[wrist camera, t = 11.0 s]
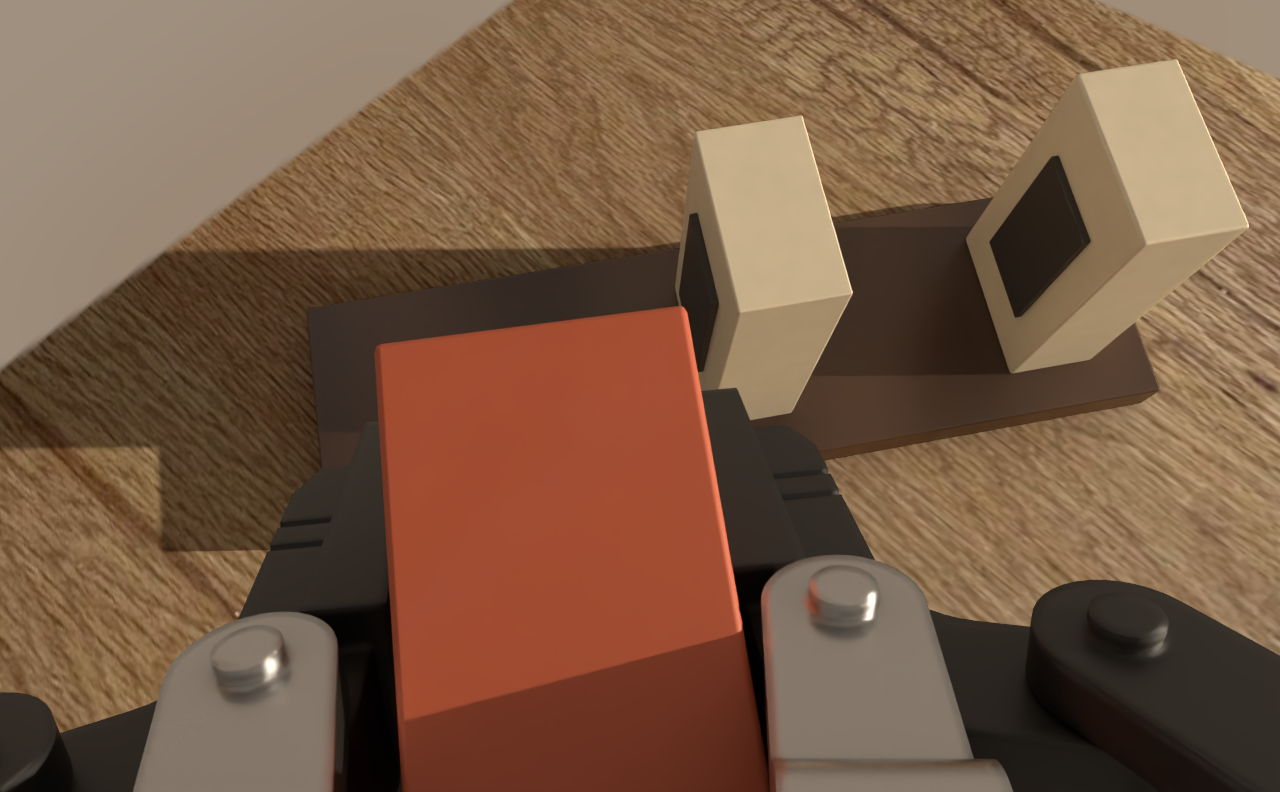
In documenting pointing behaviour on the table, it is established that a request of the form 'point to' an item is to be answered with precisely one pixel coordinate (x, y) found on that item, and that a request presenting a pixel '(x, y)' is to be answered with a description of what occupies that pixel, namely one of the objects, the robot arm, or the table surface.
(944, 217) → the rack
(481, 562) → the tall orange-red rectangular prism
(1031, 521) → the table surface
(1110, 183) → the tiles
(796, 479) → the robot arm
